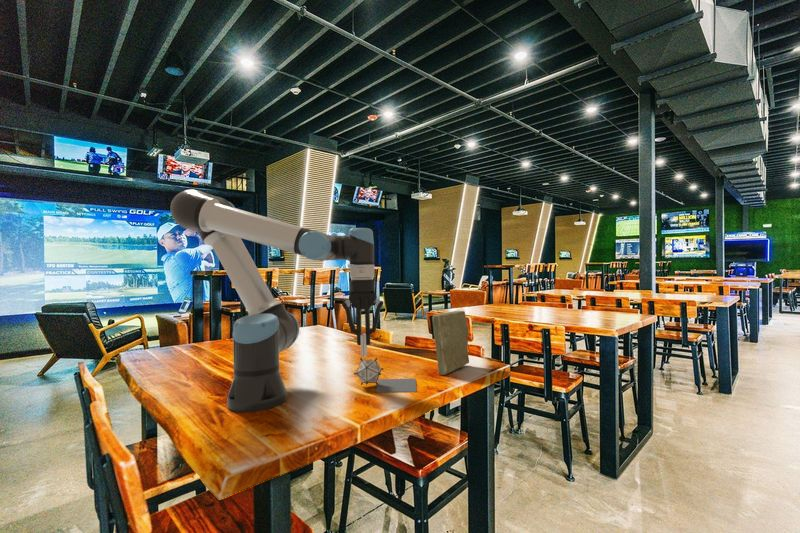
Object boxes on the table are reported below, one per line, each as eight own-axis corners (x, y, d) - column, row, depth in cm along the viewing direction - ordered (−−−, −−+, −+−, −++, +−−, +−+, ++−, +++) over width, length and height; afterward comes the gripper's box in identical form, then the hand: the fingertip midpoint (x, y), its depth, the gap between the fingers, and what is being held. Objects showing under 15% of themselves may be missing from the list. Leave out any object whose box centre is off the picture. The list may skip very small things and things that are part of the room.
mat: (375, 393, 106) (375, 392, 106) (378, 380, 118) (378, 379, 118) (416, 392, 106) (416, 391, 106) (415, 379, 118) (415, 378, 118)
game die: (375, 387, 116) (391, 361, 115) (370, 398, 108) (387, 369, 107) (351, 373, 117) (367, 346, 116) (345, 382, 108) (361, 353, 108)
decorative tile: (447, 376, 121) (446, 316, 121) (432, 373, 124) (431, 315, 124) (472, 364, 136) (472, 310, 136) (458, 361, 139) (457, 309, 139)
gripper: (338, 279, 108) (340, 359, 108) (383, 278, 108) (384, 358, 108) (342, 278, 116) (344, 353, 116) (384, 277, 116) (386, 352, 116)
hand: (364, 355), depth 112 cm, fingers closed
